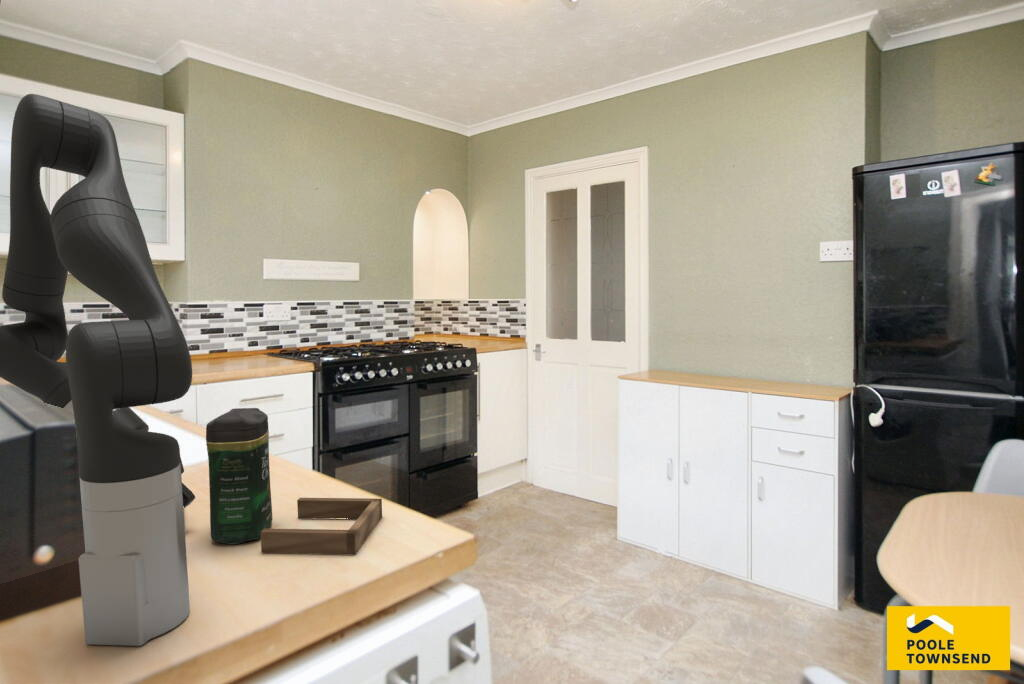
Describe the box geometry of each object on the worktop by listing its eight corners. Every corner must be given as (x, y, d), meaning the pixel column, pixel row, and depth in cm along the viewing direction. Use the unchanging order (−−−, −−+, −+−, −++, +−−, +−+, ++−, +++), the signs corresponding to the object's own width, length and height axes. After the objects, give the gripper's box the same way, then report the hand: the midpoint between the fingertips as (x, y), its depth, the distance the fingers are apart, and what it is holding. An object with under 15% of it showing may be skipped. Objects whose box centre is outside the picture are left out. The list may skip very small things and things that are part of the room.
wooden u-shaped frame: (355, 554, 83) (354, 533, 82) (261, 552, 83) (260, 532, 83) (382, 516, 96) (381, 498, 96) (301, 515, 97) (300, 497, 96)
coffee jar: (263, 544, 86) (256, 416, 84) (204, 548, 85) (196, 419, 83) (279, 518, 96) (273, 403, 94) (226, 521, 95) (219, 405, 93)
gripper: (86, 415, 83) (178, 502, 83) (149, 397, 96) (228, 472, 97) (53, 452, 84) (144, 539, 84) (120, 429, 97) (198, 504, 97)
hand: (189, 503), depth 90 cm, fingers closed
